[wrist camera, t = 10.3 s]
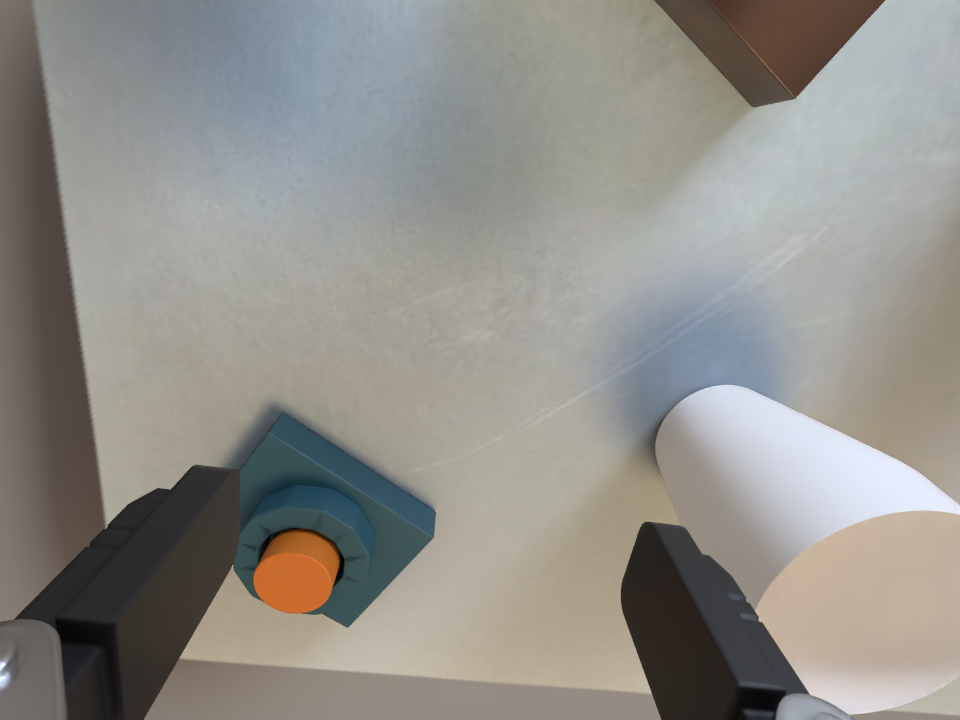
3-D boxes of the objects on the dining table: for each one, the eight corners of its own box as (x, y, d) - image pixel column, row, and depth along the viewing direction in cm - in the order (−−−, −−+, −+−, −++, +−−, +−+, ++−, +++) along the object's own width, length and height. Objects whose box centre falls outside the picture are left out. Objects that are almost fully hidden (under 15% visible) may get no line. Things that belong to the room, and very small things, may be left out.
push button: (252, 562, 26) (238, 589, 24) (291, 515, 25) (279, 540, 23) (314, 597, 27) (304, 625, 25) (354, 552, 26) (346, 579, 24)
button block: (206, 513, 29) (167, 564, 25) (283, 411, 27) (254, 451, 23) (355, 598, 31) (340, 657, 27) (436, 511, 29) (432, 561, 25)
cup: (833, 413, 28) (1085, 580, 16) (723, 533, 30) (876, 749, 19) (704, 330, 26) (888, 455, 15) (599, 465, 28) (686, 660, 17)
